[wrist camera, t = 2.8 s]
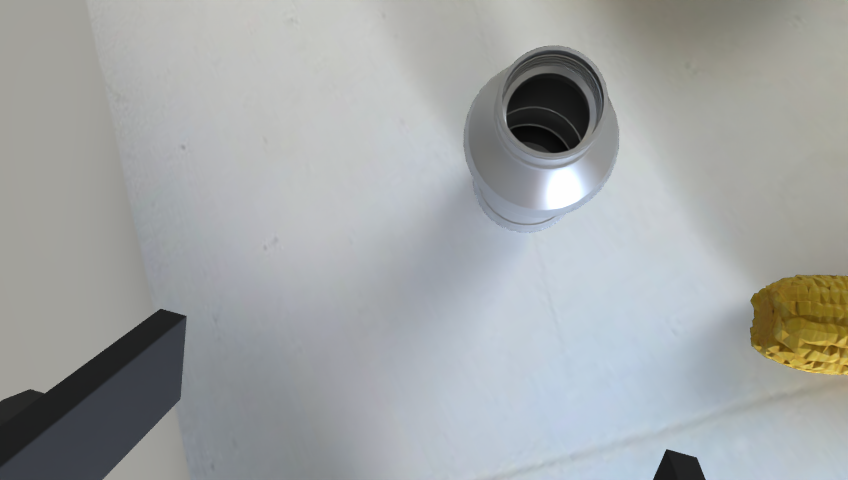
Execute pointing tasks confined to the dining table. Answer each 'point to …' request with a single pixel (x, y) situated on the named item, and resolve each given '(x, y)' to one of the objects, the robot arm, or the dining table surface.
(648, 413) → the dining table surface
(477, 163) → the silver aluminium bottle
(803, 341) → the food
